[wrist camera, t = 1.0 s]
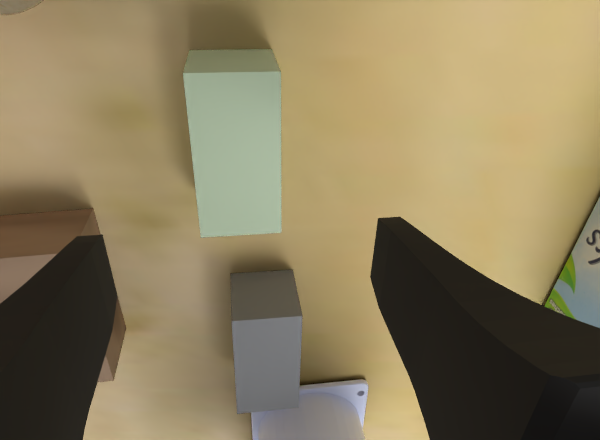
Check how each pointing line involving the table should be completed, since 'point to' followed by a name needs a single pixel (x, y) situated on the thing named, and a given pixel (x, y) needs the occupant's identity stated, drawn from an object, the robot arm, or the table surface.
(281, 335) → the gray brick
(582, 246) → the snack box
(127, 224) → the table surface
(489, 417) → the robot arm
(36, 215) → the walnut brick
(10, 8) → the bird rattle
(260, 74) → the sage brick
